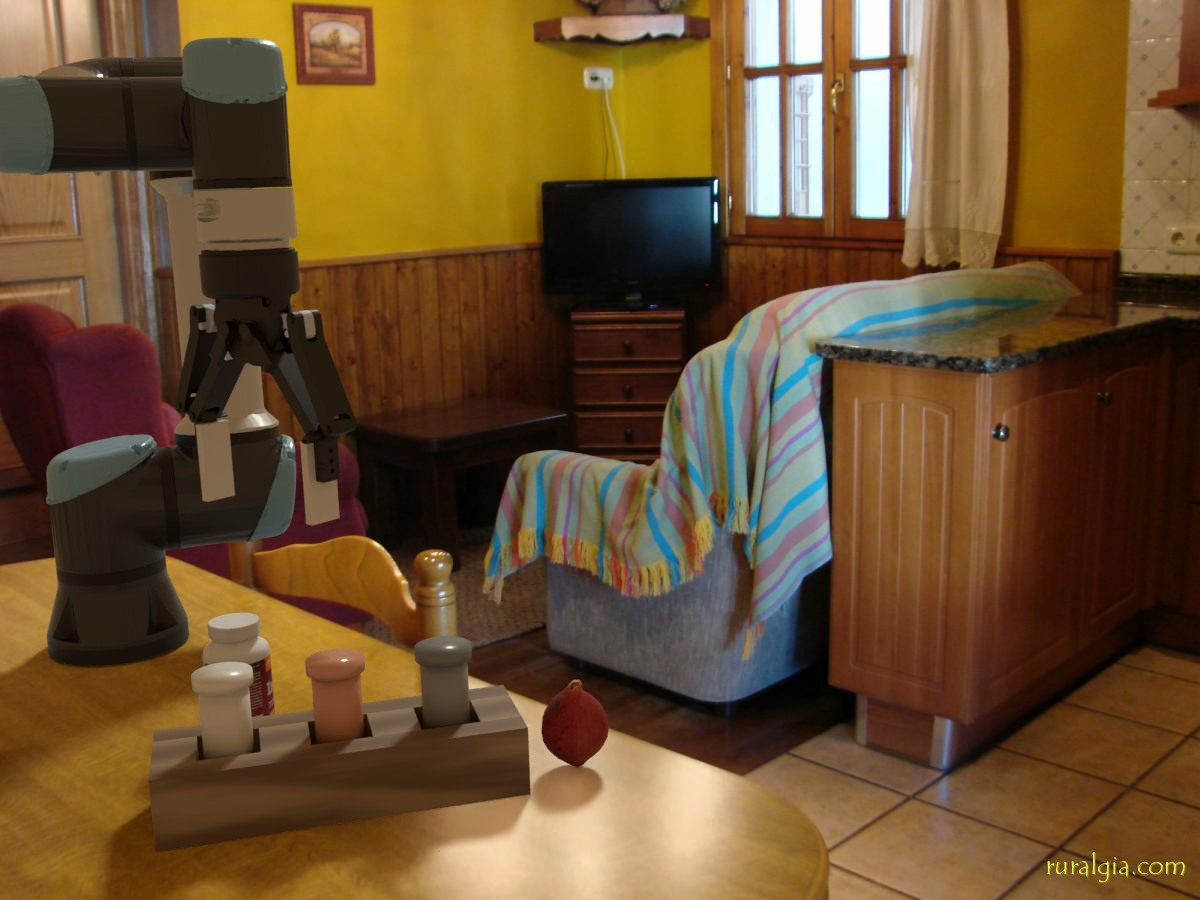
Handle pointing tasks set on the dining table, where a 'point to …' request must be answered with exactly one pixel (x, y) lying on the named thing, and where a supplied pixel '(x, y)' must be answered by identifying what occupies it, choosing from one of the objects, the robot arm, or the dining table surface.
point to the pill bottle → (243, 655)
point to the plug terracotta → (337, 694)
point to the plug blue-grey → (444, 680)
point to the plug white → (225, 708)
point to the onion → (574, 725)
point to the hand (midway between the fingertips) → (268, 509)
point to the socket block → (335, 771)
